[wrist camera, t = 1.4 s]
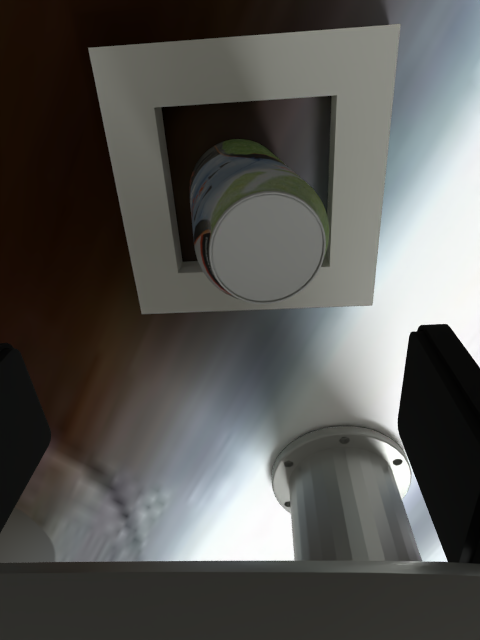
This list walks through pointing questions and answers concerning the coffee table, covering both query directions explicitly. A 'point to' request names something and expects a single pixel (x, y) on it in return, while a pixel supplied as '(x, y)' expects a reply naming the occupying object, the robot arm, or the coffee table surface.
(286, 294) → the beverage can
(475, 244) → the coffee table surface
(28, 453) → the robot arm
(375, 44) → the can holder
